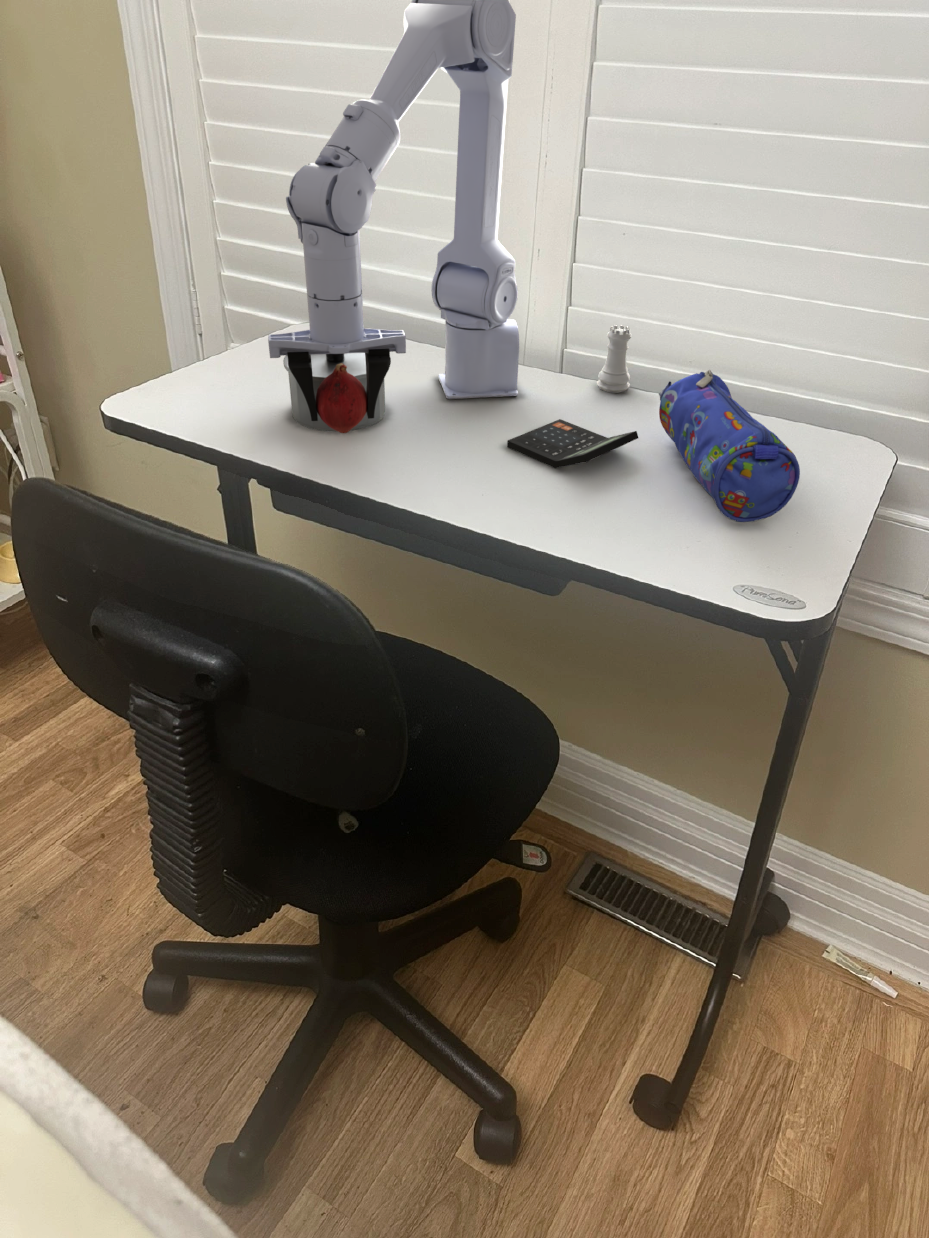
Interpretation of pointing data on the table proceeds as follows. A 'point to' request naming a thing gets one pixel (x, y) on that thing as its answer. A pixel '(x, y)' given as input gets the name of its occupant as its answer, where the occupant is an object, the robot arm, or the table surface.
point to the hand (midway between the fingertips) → (342, 416)
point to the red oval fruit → (341, 400)
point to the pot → (304, 417)
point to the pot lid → (335, 364)
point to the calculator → (566, 444)
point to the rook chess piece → (616, 361)
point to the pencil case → (728, 448)
